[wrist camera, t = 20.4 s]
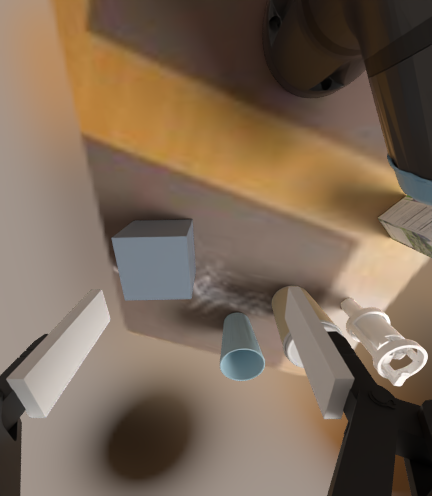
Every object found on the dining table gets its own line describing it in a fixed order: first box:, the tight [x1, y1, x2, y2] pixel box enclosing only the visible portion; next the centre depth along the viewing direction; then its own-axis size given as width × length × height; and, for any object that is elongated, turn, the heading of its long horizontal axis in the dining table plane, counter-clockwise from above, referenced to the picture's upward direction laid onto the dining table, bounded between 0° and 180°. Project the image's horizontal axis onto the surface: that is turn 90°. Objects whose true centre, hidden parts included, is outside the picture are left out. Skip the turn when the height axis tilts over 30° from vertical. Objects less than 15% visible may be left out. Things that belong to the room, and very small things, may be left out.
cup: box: [220, 312, 265, 381], centre depth 41 cm, size 8×8×10 cm
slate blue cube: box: [111, 219, 196, 300], centre depth 35 cm, size 10×10×9 cm
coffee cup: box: [272, 286, 343, 368], centre depth 39 cm, size 9×9×12 cm
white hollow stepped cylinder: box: [341, 298, 428, 386], centre depth 38 cm, size 7×7×15 cm
